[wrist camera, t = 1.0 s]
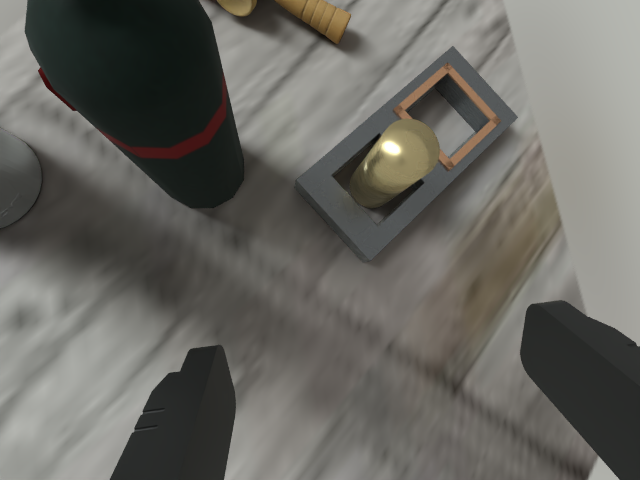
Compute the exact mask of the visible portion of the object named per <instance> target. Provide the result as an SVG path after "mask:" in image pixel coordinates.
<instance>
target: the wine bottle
mask: <svg viewBox="0 0 640 480" xmlns="http://www.w3.org/2000/svg"><path fill="white" fill-rule="evenodd" d="M25 34H26V37H27V40H28V43H29V47H30V50H31V51H32V53H33V55H34V56H35V58H36V60H37V62H38V63H39V65H40V69H39V70H38V72H39V74H40V76H41V78H42V80H43V82H44V84H45V85H46V87H47V88H48V89H49V90H50V91H51V92H52V93H53V94H55V95H56V96H57V97H58V98H59V99H60V100H61V101H63V102H64V103H65V104H66V105H67V106H68V107H69V108H70V109H72V110H73V111H78V112H79V113H80V114H81V115H82V116H84V117H85V118H86V119H87V120H88V121H89V122H90V123H91V124H92V125H93V126H94V127H95V128H97V129H98V130H99V131H100V132H101V133H102V134H103V135H104V136H105V137H106V138H107V139H109V140H110V141H111V142H112V143H113V144H114V145H115V146H116V147H117V148H118V149H119V150H121V151H122V152H123V153H124V154H125V155H126V156H127V157H128V158H129V159H130V160H131V161H133V162H134V163H135V164H136V165H137V166H138V167H139V168H140V169H141V170H142V171H143V172H145V173H146V174H147V175H148V176H149V177H150V178H151V179H152V180H153V181H154V182H155V183H157V184H158V185H159V186H160V187H161V188H162V189H163V190H164V191H165V192H166V193H167V194H169V195H170V196H171V197H172V198H174V199H176V200H178V201H179V202H181V203H183V204H185V205H187V206H188V207H190V208H214V207H216V206H218V205H220V204H222V203H224V202H226V201H227V200H229V199H231V198H233V196H234V195H235V193H236V191H237V190H238V188H239V187H240V185H241V183H242V182H243V180H244V159H243V154H242V150H241V146H240V141H239V137H238V133H237V129H236V124H235V120H234V116H233V111H232V107H231V103H230V99H229V94H228V90H227V86H226V81H225V77H224V73H223V69H222V64H221V60H220V56H219V51H218V47H217V43H216V39H215V34H214V30H213V26H212V22H211V20H210V19H209V17H208V15H207V14H206V12H205V10H204V9H203V7H202V5H201V4H200V2H199V0H28V2H27V13H26V24H25Z"/></svg>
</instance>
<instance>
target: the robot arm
mask: <svg viewBox="0 0 640 480" xmlns="http://www.w3.org/2000/svg"><path fill="white" fill-rule="evenodd" d="M41 182H42V175H41V168H40V164H39V161H38V159H37V157H36V155H35V154H34V152H33V151H32V150H31V148H30V147H29V146H28V145H27V144H26V143H25V142H23V141H22V140H20V139H19V138H17V137H16V136H14V135H12V134H11V133H9V132H7V131H5V130H4V129H2V128H0V229H1V228H3V227H6V226H8V225H10V224H12V223H13V222H15V221H17V220H18V219H20V218H21V217H22V216H23V215H24V214H25V213H26V212H28V210H29V209H30V208H31V206H32V205H33V204H34V202H35V201H36V198H37V196H38V194H39V192H40V187H41ZM520 356H521V361H522V364H523V367H524V369H525V371H526V373H527V374H528V375H529V377H530V378H531V379H532V380H533V381H534V382H535V384H536V385H537V386H538V387H539V388H540V389H541V390H542V392H543V393H544V394H545V395H546V396H547V397H548V398H549V400H550V401H551V402H552V403H553V404H554V405H555V406H556V408H557V409H558V410H559V411H560V412H561V413H562V414H563V416H564V417H565V418H566V419H567V420H568V421H569V422H570V424H571V425H572V426H573V427H574V428H575V429H576V430H577V432H578V433H579V434H580V435H581V436H582V437H583V438H584V440H585V441H586V442H587V443H588V444H589V445H590V446H591V447H592V449H593V450H594V451H595V452H596V453H597V454H598V455H599V457H600V458H601V459H602V460H603V461H604V462H605V463H606V465H607V466H608V467H609V468H610V469H611V470H612V471H613V472H614V474H615V475H616V476H617V477H618V478H619V479H620V480H640V347H638V346H637V345H636V343H635V342H634V341H632V340H631V339H629V338H628V337H626V336H625V335H624V334H622V333H621V332H619V331H618V330H616V329H615V328H613V327H611V326H608V325H606V324H603V323H601V322H599V321H597V320H594V319H592V318H590V317H587V316H586V315H584V314H583V313H582V312H580V311H579V310H577V309H576V308H575V307H573V306H572V305H570V304H569V303H567V302H565V301H562V300H560V301H552V302H544V303H537V304H531V305H530V306H529V307H528V308H527V311H526V317H525V323H524V330H523V336H522V343H521V349H520ZM235 411H236V399H235V391H234V387H233V383H232V379H231V375H230V371H229V367H228V363H227V359H226V355H225V352H224V349H223V347H222V346H221V345H216V346H208V347H201V348H193V349H190V350H189V351H188V353H187V356H186V358H185V361H184V363H183V366H182V368H181V370H180V372H173V373H168V375H167V376H166V377H165V378H164V379H163V380H162V381H161V382H160V383H159V384H158V385H157V386H156V387H155V389H154V390H153V391H152V393H151V395H150V397H149V399H148V401H147V403H146V405H145V407H144V409H143V415H140V418H139V420H138V422H137V424H136V426H135V428H134V429H135V431H134V433H132V434H131V436H130V438H129V441H128V443H127V445H126V447H125V449H124V451H123V453H122V455H121V457H120V459H119V461H118V463H117V466H116V468H115V470H114V472H113V474H112V476H111V478H110V480H224V476H225V470H226V465H227V459H228V453H229V448H230V442H231V436H232V431H233V425H234V419H235Z"/></svg>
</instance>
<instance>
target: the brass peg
mask: <svg viewBox="0 0 640 480" xmlns="http://www.w3.org/2000/svg"><path fill="white" fill-rule="evenodd" d="M439 155H440V147H439V142H438V139H437V137H436V135H435V134H434V132H433V131H432V130H431V129H430V128H429V127H428V126H427V125H426V124H424V123H422V122H420V121H418V120H415V119H401V120H398V121H396V122H394V123H392V124H391V125H390V126H389V127H388V128H387V129H386V130H385V132H384V133H383V134H382V136H381V137H380V138H379V140H378V141H377V142H376V144H375V145H374V146H373V148H372V149H371V150H370V152H369V153H368V154H367V156H366V157H365V158H364V160H363V161H362V162H361V164H360V165H359V166H358V168H357V169H356V170H355V172H354V173H353V174H352V176H351V179H350V184H349V186H350V192H351V194H352V196H353V198H354V199H355V201H356V202H357V203H359V204H360V205H362V206H364V207H367V208H377V207H380V206H382V205H384V204H385V203H387V202H388V201H390V200H391V199H392V198H394V197H395V196H397V195H398V194H399V193H401V192H402V191H404V190H405V189H407V188H408V187H409V186H411V185H412V184H414V183H415V182H417V181H418V180H419V179H421V178H422V177H424V176H425V175H427V174H428V173H429V172H431V171H432V170H433V169H434V167H435V166H436V164H437V162H438V159H439Z"/></svg>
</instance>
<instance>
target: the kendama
mask: <svg viewBox="0 0 640 480" xmlns="http://www.w3.org/2000/svg"><path fill="white" fill-rule="evenodd" d="M217 1H218V3H219V4H220V5H221V6H222V7H223V8H224V9H225V10H227V11H228V12H230V13H231V14H233V15H236V16H248V15H249V14H250V13H251V12H252V10H253V9H254V7H255V6H256V3H257V0H217ZM274 1H275V2H277V3H278V4H279V5H281V6H282V7H283V8H285V9H286V10H287V11H289V12H290V13H292V14H293V15H295V16H296V17H298V18H300V19H302V21H304V22H305V23H307V24H310V26H311V27H313V28H314V29H316V30H318V31H319V32H320V33H322V34H323V35H325V36H326V37H328V38H329V39H330V40H332V41H333V42H334V43H336V44H338V43H339V42H340V40H341V38H342V36H343V33H344V31H345V29H346V27H347V24H348V22H349V20H350V18H351V14H350V13H348V12H346V11H344V10H342V9H339V8H336V7H335V6H333V5H331V4H328V3H327V2H325V1H323V0H274Z"/></svg>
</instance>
